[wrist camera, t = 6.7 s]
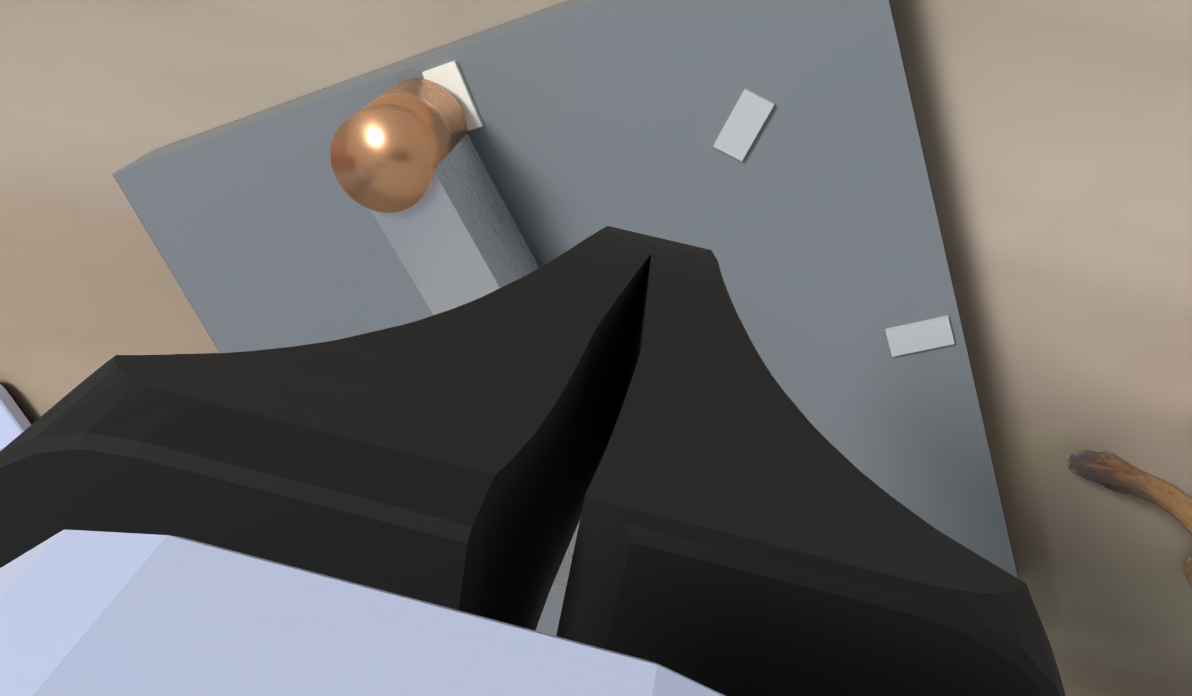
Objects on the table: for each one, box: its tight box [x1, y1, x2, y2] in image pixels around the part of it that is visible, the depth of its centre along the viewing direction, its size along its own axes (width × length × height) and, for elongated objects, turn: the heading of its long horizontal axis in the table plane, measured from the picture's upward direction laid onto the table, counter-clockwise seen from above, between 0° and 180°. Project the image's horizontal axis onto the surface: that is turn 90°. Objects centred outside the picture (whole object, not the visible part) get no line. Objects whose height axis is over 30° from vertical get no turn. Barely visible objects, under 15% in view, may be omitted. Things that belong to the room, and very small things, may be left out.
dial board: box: [113, 0, 1018, 636], centre depth 22 cm, size 16×16×2 cm
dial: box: [330, 78, 580, 586], centre depth 20 cm, size 11×6×2 cm, turn 26°
